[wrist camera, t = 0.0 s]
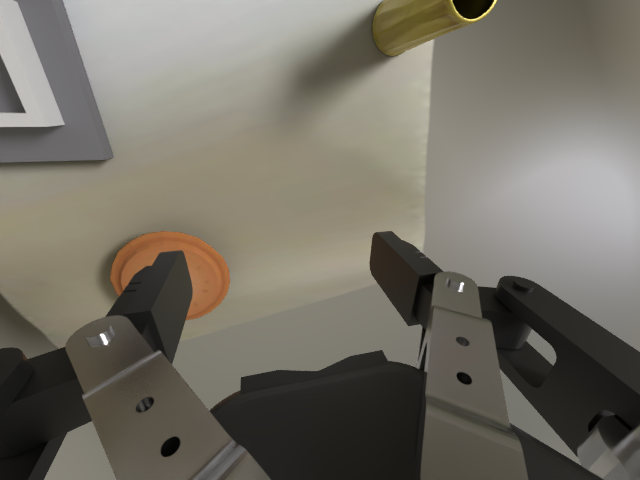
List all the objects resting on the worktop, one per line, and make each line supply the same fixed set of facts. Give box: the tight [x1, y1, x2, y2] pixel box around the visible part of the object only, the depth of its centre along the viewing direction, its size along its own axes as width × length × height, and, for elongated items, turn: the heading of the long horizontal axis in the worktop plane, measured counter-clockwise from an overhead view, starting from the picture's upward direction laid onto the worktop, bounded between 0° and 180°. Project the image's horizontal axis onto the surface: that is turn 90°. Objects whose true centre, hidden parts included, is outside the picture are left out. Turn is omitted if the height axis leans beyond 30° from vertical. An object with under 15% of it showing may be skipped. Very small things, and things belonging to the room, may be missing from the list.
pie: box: [110, 231, 230, 320], centre depth 40 cm, size 15×16×5 cm
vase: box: [373, 0, 497, 56], centre depth 28 cm, size 6×6×14 cm
